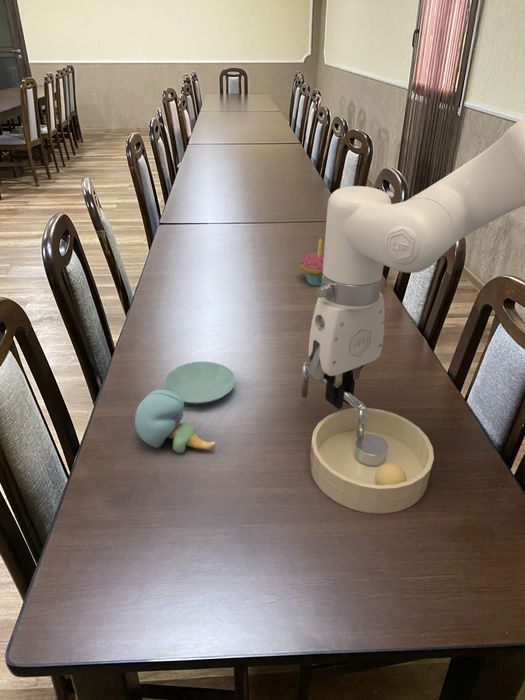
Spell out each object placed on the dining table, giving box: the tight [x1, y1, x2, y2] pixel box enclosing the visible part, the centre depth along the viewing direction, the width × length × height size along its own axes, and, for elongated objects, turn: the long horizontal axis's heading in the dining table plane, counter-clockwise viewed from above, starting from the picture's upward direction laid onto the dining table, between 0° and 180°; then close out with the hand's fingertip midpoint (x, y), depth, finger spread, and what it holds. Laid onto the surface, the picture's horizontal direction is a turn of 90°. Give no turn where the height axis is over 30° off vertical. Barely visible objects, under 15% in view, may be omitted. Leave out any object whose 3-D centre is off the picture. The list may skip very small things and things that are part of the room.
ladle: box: [300, 360, 388, 466], centre depth 79 cm, size 18×4×7 cm, turn 34°
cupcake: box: [299, 236, 324, 287], centre depth 126 cm, size 9×8×12 cm
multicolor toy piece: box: [134, 388, 216, 454], centre depth 77 cm, size 7×9×12 cm
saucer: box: [163, 361, 236, 405], centre depth 90 cm, size 12×12×2 cm
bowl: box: [309, 407, 435, 515], centre depth 74 cm, size 16×16×4 cm
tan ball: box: [375, 463, 407, 485], centre depth 70 cm, size 4×4×4 cm
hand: (338, 401), depth 79 cm, fingers closed on ladle, 1 cm apart
